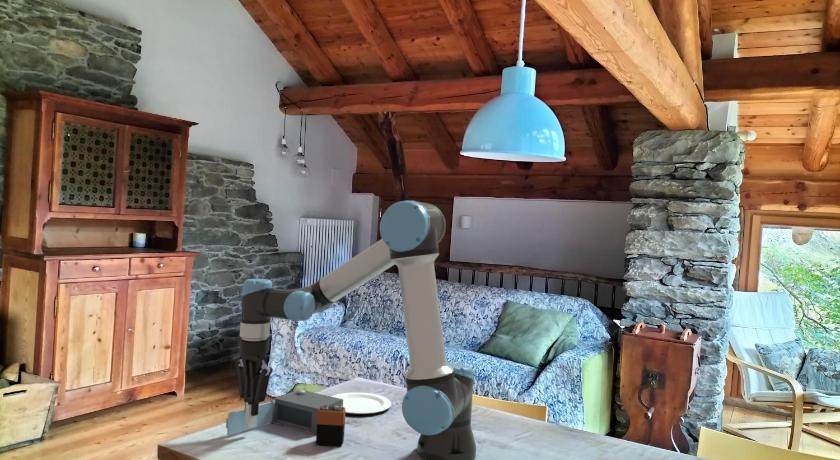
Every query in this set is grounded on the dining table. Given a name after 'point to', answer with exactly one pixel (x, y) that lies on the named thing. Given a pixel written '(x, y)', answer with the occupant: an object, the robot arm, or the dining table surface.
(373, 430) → the dining table surface
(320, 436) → the battery
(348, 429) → the dining table surface
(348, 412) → the plate
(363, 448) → the dining table surface
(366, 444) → the dining table surface
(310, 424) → the camera body
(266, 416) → the door
